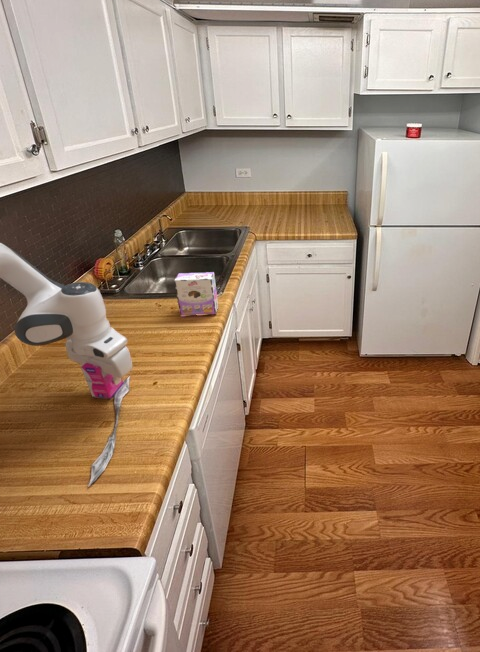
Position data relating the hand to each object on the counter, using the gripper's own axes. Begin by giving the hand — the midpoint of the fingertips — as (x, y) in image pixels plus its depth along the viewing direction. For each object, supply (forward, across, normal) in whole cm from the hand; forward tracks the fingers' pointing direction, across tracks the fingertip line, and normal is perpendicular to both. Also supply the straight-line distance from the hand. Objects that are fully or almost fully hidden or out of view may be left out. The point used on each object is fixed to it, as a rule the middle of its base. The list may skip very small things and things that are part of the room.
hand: (104, 378), depth 93 cm
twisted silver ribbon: (+5, +10, -7) cm, 13 cm away
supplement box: (+5, 0, 0) cm, 5 cm away
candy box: (+5, 0, +41) cm, 41 cm away
